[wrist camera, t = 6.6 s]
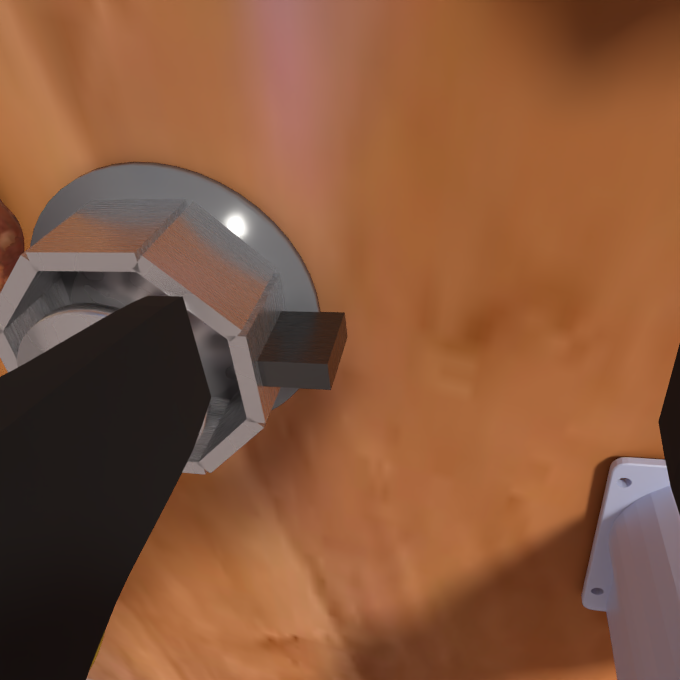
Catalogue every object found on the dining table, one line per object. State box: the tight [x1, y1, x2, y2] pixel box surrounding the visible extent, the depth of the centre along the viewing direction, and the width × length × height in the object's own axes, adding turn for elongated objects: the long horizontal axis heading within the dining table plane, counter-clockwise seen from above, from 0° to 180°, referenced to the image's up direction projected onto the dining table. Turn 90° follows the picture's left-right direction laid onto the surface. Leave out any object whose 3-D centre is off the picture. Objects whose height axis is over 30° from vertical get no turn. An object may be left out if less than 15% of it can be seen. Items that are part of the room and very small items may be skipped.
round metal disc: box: [30, 162, 320, 410], centre depth 23 cm, size 11×11×1 cm
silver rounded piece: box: [17, 271, 237, 445], centre depth 20 cm, size 7×7×6 cm
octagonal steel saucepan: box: [0, 198, 347, 474], centre depth 21 cm, size 9×11×4 cm
